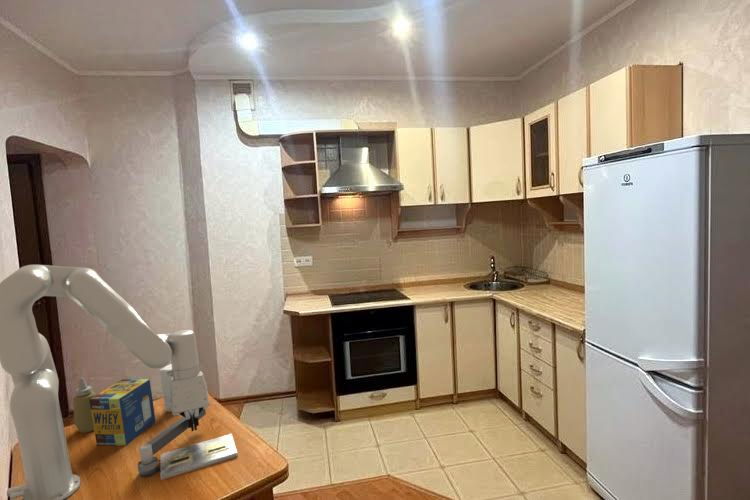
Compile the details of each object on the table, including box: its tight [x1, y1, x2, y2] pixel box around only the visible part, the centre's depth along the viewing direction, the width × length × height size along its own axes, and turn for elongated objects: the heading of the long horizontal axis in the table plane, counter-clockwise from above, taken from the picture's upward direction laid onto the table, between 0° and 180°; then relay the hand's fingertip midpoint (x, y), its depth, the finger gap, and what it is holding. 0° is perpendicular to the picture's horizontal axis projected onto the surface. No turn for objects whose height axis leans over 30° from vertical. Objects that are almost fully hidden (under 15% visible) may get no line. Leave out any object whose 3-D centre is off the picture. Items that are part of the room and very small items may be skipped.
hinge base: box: [137, 456, 160, 479], centre depth 123 cm, size 5×5×3 cm
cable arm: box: [138, 408, 207, 465], centre depth 133 cm, size 26×3×4 cm, turn 164°
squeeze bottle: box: [72, 377, 97, 434], centre depth 150 cm, size 8×8×18 cm
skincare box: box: [158, 363, 173, 413], centre depth 162 cm, size 8×7×16 cm
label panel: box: [159, 433, 239, 481], centre depth 129 cm, size 20×12×2 cm, turn 115°
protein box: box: [89, 378, 156, 447], centre depth 145 cm, size 10×15×16 cm
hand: (194, 428), depth 136 cm, fingers closed
